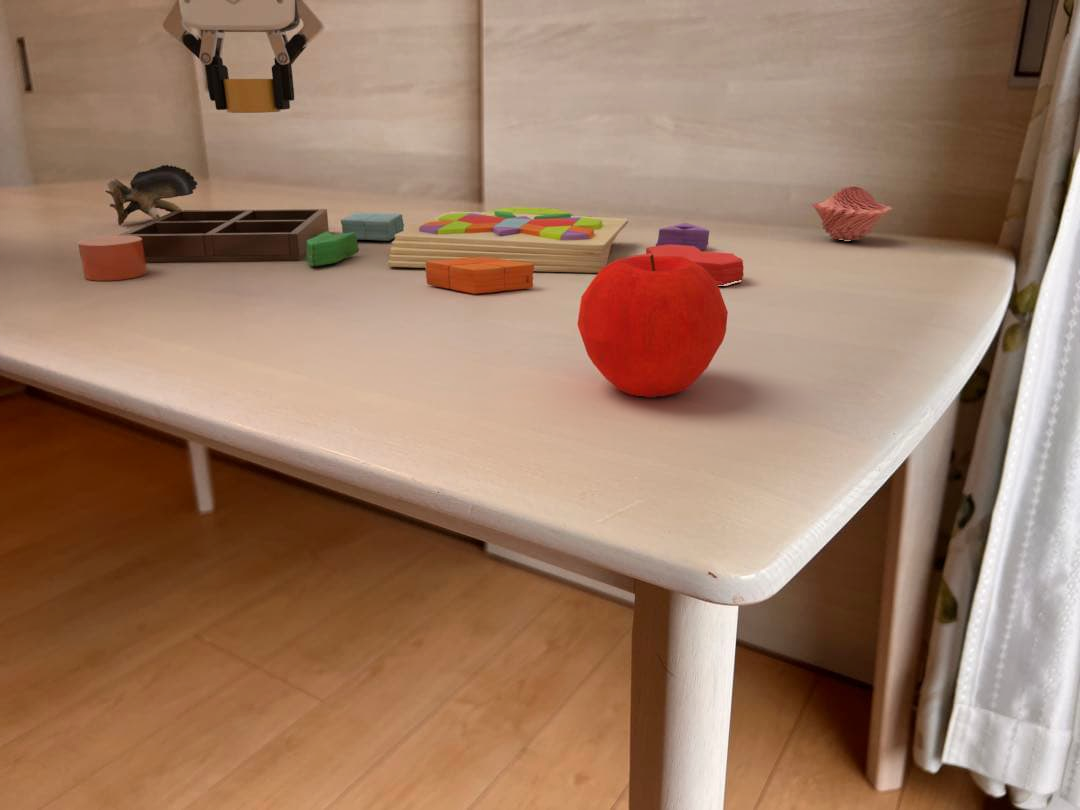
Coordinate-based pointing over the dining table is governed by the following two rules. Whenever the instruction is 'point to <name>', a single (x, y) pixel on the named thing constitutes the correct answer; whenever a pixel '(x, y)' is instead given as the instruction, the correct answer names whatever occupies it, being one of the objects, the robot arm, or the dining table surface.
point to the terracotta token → (112, 258)
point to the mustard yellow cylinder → (249, 95)
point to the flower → (850, 213)
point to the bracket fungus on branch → (151, 191)
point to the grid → (230, 235)
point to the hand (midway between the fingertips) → (253, 107)
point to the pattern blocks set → (509, 246)
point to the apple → (652, 323)
